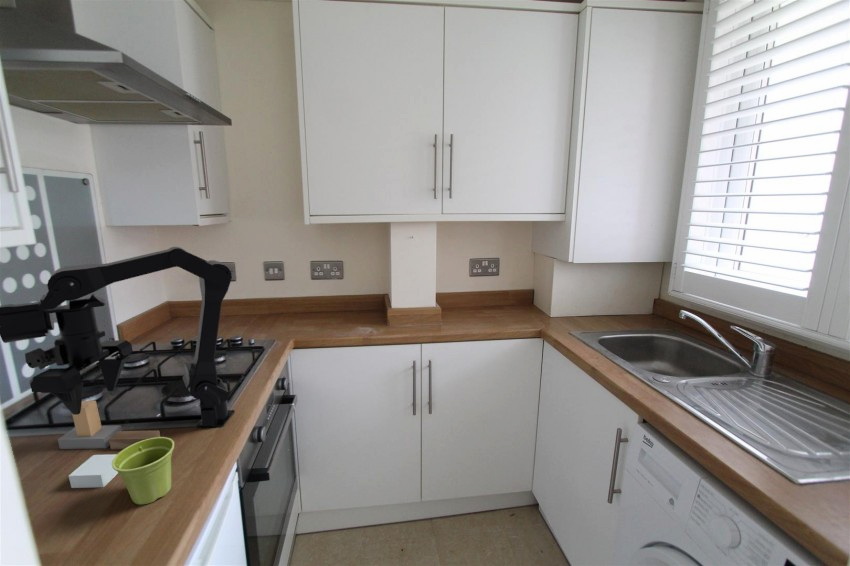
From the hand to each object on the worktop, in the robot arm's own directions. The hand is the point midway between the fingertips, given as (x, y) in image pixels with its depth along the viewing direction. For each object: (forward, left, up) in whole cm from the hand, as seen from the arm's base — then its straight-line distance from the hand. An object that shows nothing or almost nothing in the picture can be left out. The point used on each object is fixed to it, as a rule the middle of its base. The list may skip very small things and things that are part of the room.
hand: (94, 401), depth 81 cm
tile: (+6, +4, -13) cm, 15 cm away
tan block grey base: (-5, -7, -13) cm, 16 cm away
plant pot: (+11, +17, -13) cm, 24 cm away
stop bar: (-4, +4, -13) cm, 14 cm away
